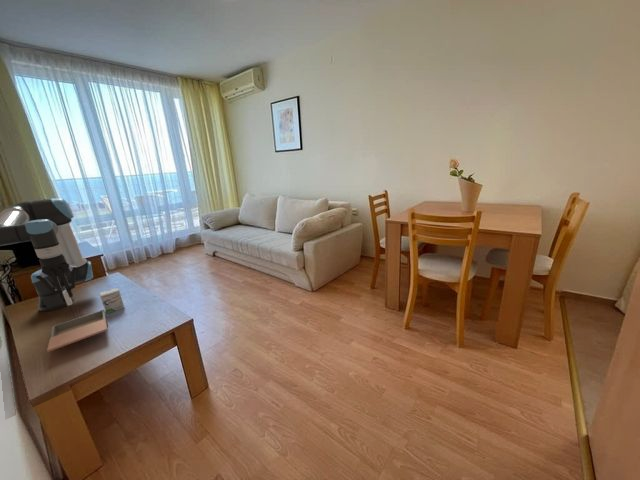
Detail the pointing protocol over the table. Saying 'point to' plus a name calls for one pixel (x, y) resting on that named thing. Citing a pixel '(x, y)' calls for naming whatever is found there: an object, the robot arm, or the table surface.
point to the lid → (76, 334)
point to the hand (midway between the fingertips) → (70, 304)
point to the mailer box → (78, 323)
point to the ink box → (112, 300)
